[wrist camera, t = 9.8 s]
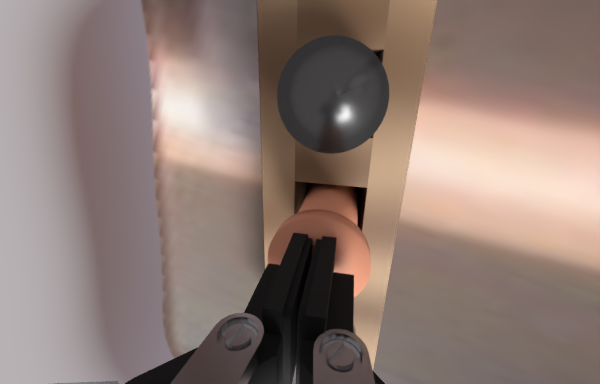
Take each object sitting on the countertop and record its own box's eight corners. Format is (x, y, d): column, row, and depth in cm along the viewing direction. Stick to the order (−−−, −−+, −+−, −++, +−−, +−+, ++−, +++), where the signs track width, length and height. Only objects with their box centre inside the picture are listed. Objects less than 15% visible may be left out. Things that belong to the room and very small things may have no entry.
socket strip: (285, 2, 16) (256, -28, 11) (417, 0, 15) (443, -35, 10) (284, 297, 24) (267, 349, 19) (370, 310, 23) (372, 369, 18)
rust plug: (300, 162, 17) (266, 213, 11) (370, 167, 16) (377, 225, 10) (299, 222, 18) (268, 297, 12) (362, 229, 18) (364, 313, 11)
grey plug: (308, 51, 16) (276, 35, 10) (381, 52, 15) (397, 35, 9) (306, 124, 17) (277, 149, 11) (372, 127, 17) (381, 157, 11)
